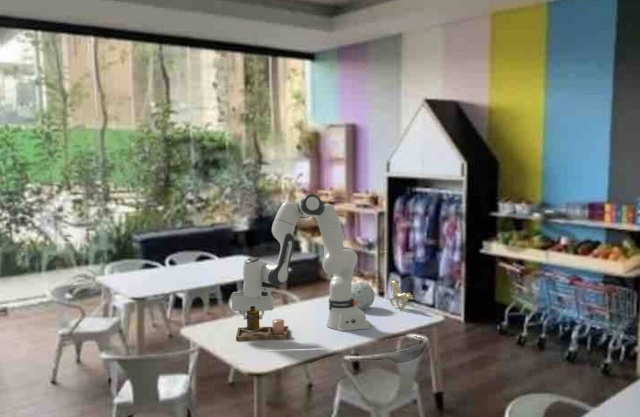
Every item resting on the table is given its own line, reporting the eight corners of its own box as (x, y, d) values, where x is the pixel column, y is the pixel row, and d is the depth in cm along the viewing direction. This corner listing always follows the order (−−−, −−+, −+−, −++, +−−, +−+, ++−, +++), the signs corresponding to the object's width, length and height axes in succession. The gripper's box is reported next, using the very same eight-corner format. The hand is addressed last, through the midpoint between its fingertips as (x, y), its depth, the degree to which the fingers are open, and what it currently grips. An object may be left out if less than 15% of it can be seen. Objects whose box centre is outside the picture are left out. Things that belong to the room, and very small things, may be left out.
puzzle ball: (346, 305, 333) (346, 280, 331) (371, 304, 335) (371, 279, 333) (350, 313, 318) (350, 286, 316) (377, 312, 320) (377, 285, 318)
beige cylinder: (284, 332, 284) (283, 318, 283) (284, 336, 278) (284, 322, 277) (272, 332, 283) (272, 319, 283) (272, 336, 278) (272, 322, 277)
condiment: (263, 327, 281) (262, 304, 280) (251, 332, 274) (251, 308, 273) (251, 325, 286) (251, 301, 284) (240, 329, 279) (239, 305, 277)
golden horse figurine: (415, 312, 318) (415, 282, 316) (410, 314, 315) (410, 283, 313) (391, 304, 334) (391, 275, 332) (386, 305, 332) (386, 276, 330)
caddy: (288, 330, 288) (288, 326, 288) (288, 340, 274) (288, 335, 274) (238, 332, 286) (238, 327, 286) (236, 341, 272) (236, 336, 272)
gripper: (230, 293, 274) (230, 321, 276) (273, 292, 275) (273, 320, 277) (231, 290, 281) (232, 317, 282) (273, 289, 281) (274, 316, 283)
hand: (253, 319), depth 279 cm, fingers closed on condiment, 6 cm apart
